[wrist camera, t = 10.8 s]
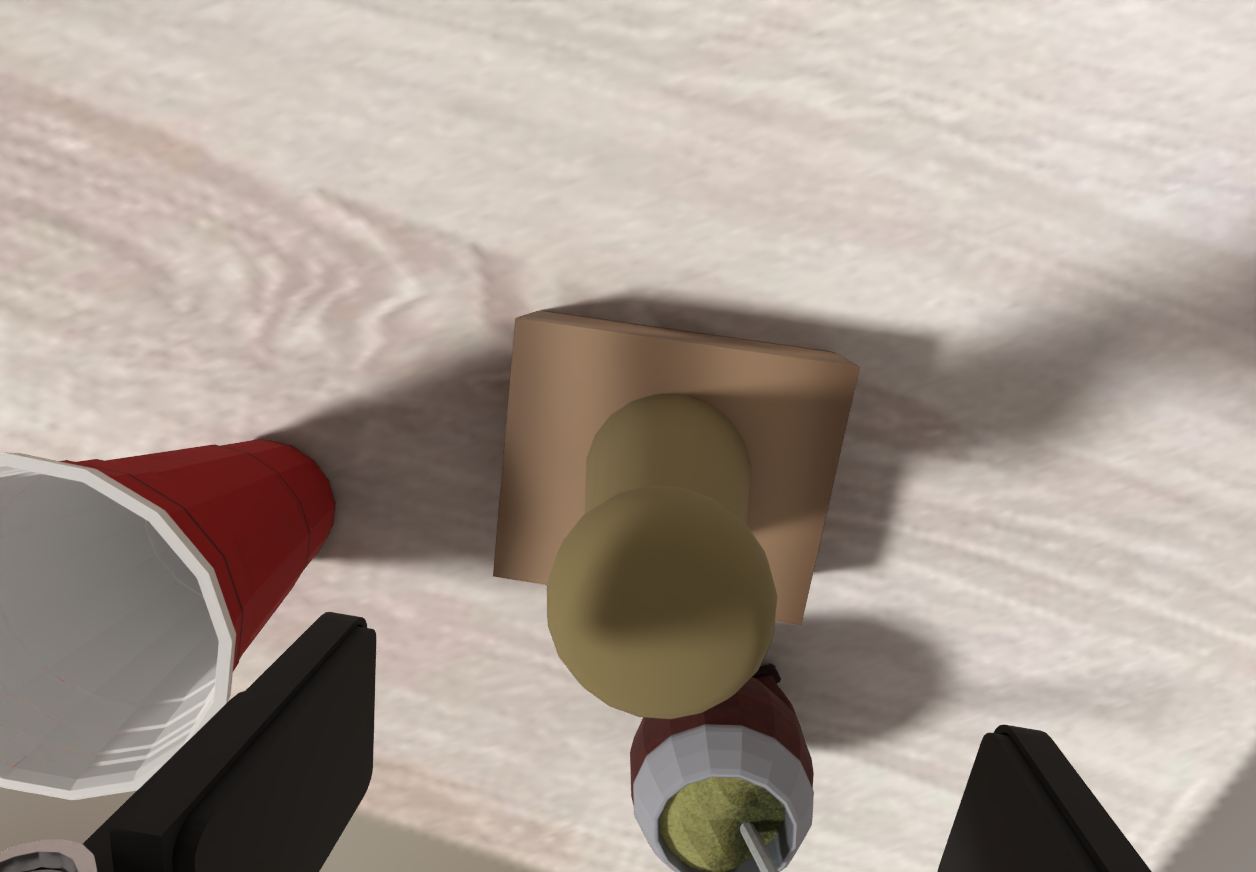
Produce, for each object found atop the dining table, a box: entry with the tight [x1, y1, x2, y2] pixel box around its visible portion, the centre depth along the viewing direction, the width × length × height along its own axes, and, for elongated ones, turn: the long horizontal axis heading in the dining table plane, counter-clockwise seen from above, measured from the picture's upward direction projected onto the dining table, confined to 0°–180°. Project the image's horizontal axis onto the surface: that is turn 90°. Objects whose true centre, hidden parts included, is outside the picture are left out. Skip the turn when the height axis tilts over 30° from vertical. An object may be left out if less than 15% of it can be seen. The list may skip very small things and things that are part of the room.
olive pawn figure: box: [547, 394, 777, 719], centre depth 19 cm, size 6×6×11 cm
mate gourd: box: [630, 664, 814, 872], centre depth 23 cm, size 8×8×15 cm
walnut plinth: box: [493, 311, 860, 625], centre depth 26 cm, size 12×10×4 cm
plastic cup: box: [0, 440, 335, 800], centre depth 24 cm, size 11×11×12 cm
